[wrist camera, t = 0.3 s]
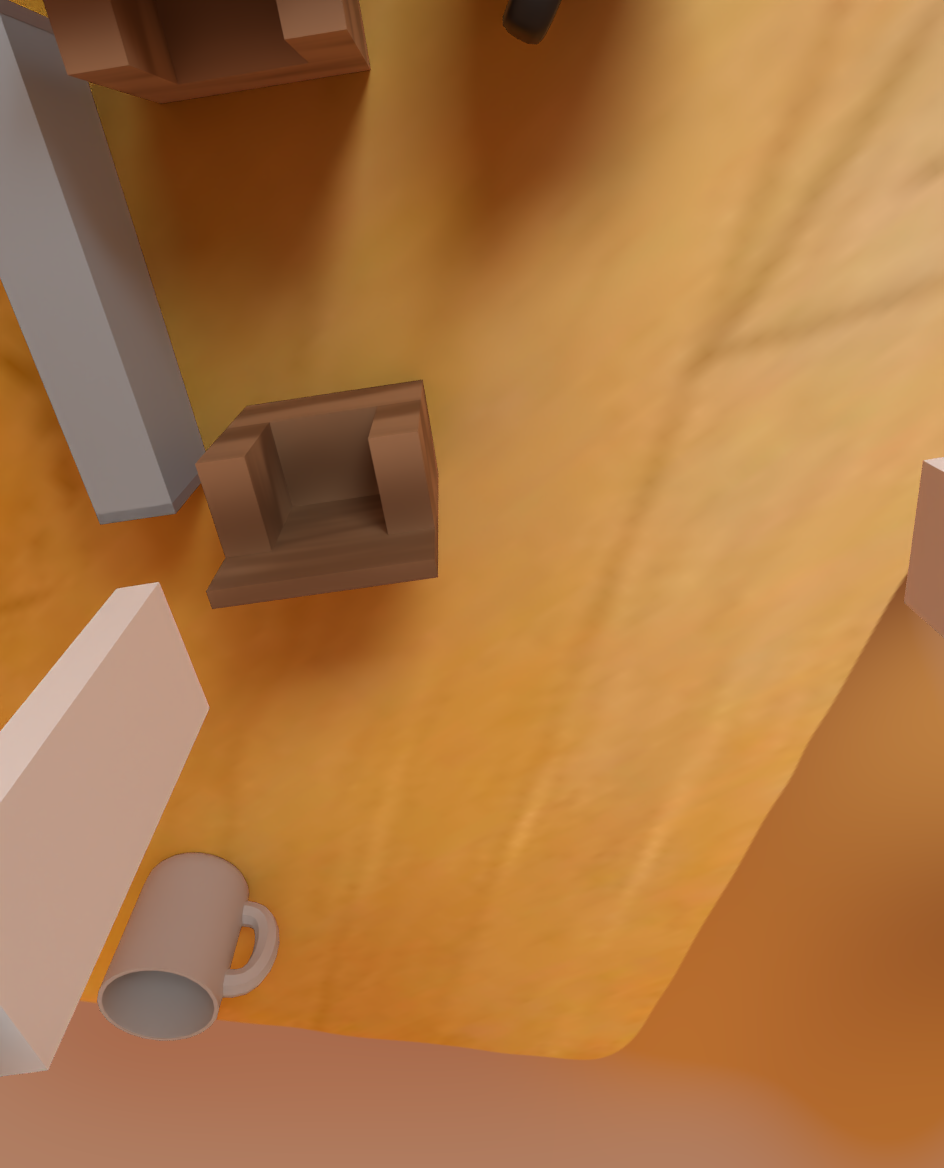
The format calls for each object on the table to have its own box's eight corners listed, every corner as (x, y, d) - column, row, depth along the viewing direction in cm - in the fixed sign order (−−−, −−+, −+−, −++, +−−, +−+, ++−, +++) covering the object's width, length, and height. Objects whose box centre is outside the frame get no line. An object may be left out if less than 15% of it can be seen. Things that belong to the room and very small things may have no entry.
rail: (-14, 41, 30) (-109, 10, 25) (71, 28, 30) (-7, -6, 25) (146, 479, 39) (100, 524, 34) (211, 469, 39) (175, 513, 34)
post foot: (246, 406, 38) (170, 490, 27) (422, 379, 37) (415, 455, 27) (272, 497, 40) (212, 608, 29) (438, 473, 40) (437, 577, 29)
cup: (146, 844, 52) (93, 962, 44) (293, 858, 53) (267, 975, 45) (149, 914, 55) (100, 1036, 47) (286, 926, 56) (261, 1046, 48)
